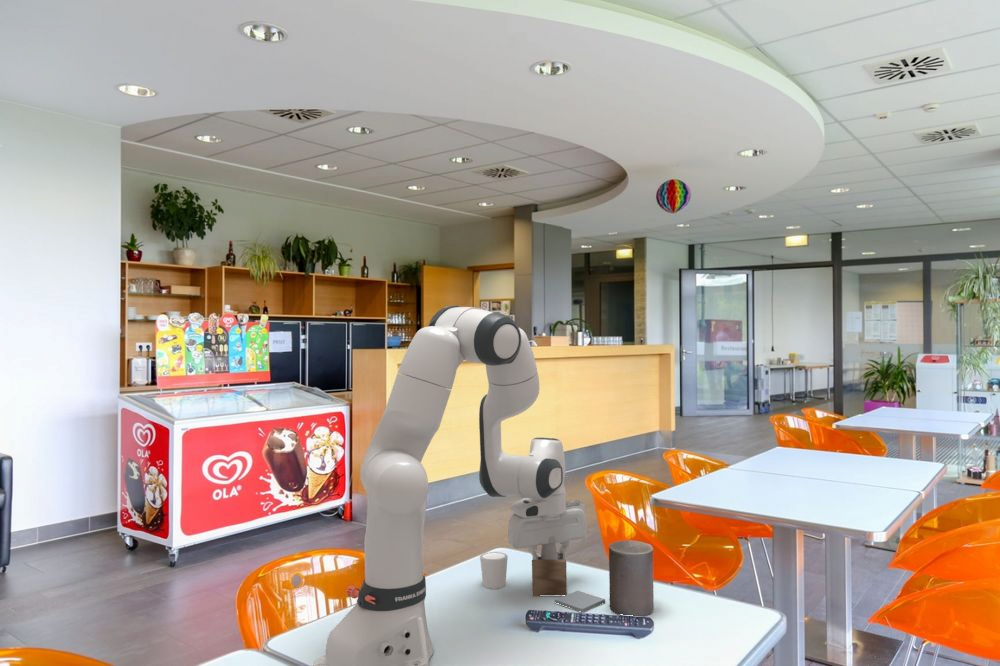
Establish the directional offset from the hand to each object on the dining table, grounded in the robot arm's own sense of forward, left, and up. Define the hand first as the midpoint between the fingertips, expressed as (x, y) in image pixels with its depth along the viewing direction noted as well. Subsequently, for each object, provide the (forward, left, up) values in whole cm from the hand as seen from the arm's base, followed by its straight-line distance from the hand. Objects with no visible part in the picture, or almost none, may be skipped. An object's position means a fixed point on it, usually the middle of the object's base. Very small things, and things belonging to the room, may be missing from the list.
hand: (548, 561), depth 165 cm
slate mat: (-3, -12, -6) cm, 14 cm away
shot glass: (-8, +11, -6) cm, 15 cm away
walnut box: (-4, -4, -6) cm, 8 cm away
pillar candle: (+2, -23, -6) cm, 24 cm away
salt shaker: (0, 0, -6) cm, 6 cm away
